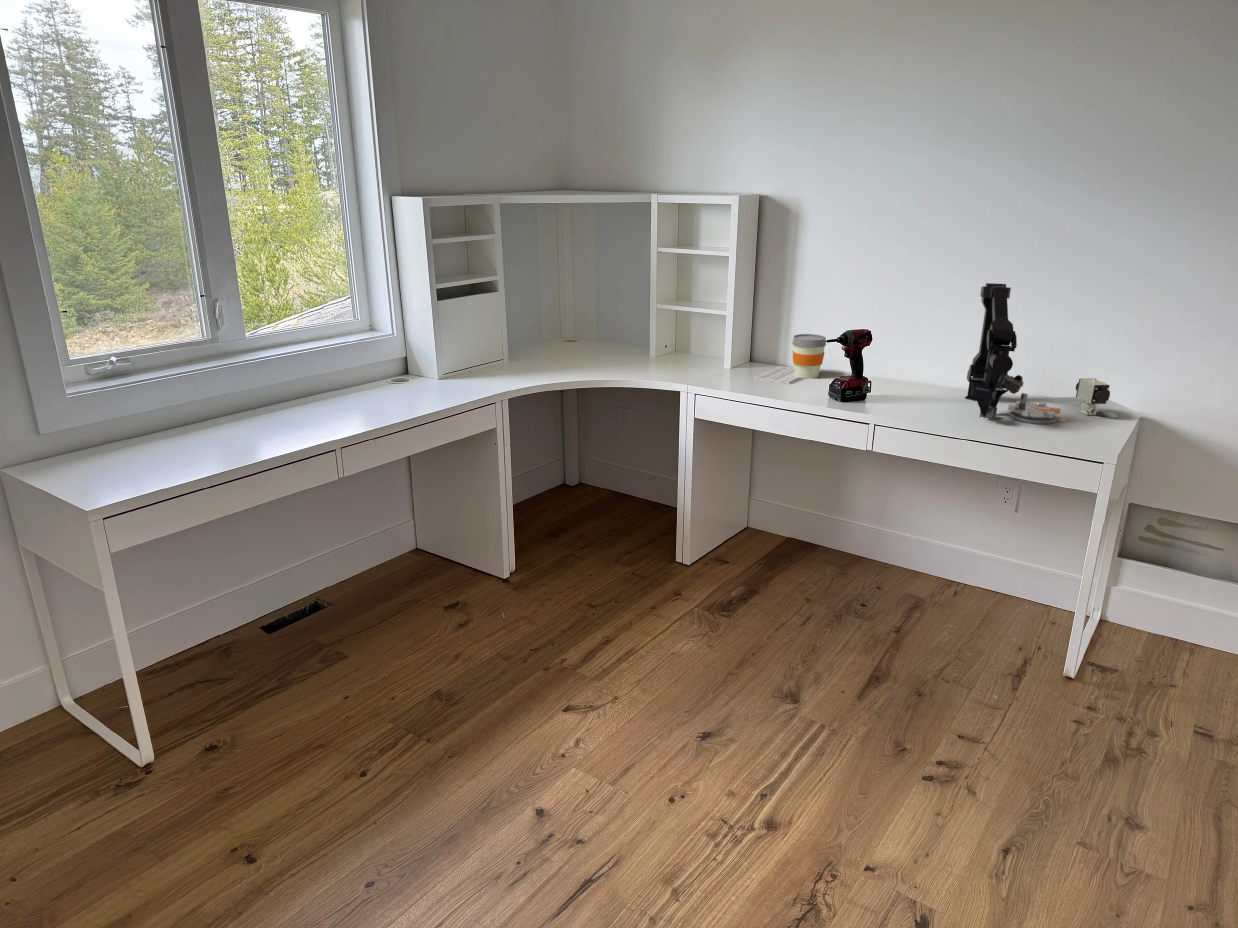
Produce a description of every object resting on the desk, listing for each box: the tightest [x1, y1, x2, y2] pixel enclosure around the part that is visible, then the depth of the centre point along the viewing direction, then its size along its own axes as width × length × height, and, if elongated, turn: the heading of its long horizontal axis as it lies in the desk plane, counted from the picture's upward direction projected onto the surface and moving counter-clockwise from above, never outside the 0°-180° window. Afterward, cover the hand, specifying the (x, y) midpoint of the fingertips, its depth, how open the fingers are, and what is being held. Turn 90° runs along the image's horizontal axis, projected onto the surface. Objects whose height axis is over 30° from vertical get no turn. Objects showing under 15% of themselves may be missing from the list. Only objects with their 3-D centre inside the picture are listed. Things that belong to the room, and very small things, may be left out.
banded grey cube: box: [979, 406, 998, 420], centre depth 267 cm, size 4×3×4 cm
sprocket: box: [1007, 392, 1062, 420], centre depth 265 cm, size 14×15×7 cm
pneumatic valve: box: [1075, 377, 1111, 416], centre depth 270 cm, size 6×12×12 cm, turn 4°
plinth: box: [1009, 410, 1067, 425], centre depth 266 cm, size 16×14×1 cm
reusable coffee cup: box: [791, 333, 827, 379], centre depth 317 cm, size 13×13×15 cm
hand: (988, 413), depth 267 cm, fingers open, 7 cm apart
